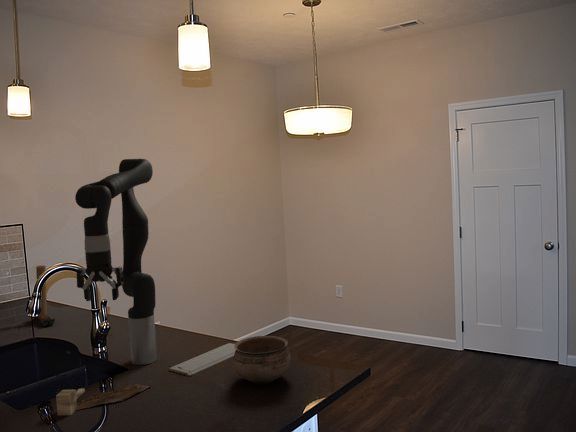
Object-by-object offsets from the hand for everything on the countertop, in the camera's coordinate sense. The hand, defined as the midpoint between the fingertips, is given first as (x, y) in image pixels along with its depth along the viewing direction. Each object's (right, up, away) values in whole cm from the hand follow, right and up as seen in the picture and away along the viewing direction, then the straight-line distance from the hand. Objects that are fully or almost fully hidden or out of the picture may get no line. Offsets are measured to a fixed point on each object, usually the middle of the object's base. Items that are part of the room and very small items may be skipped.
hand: (101, 300), depth 165 cm
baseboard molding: (+31, -27, +28) cm, 50 cm away
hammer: (-61, -26, +90) cm, 112 cm away
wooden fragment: (+3, -31, -2) cm, 31 cm away
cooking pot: (+51, -28, +6) cm, 58 cm away
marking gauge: (-6, -31, -7) cm, 32 cm away
